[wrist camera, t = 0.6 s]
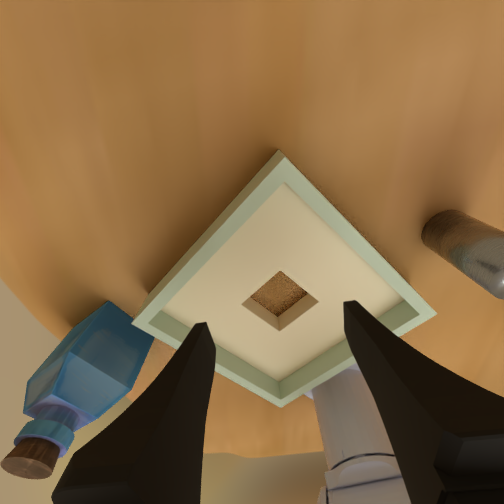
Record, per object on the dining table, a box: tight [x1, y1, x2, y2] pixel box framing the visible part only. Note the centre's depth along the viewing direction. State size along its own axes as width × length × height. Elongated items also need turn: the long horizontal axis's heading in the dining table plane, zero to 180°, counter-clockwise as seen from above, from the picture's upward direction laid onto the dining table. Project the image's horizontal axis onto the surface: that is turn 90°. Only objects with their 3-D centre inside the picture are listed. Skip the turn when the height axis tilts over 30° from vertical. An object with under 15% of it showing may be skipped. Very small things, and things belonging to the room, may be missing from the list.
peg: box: [422, 210, 504, 299], centre depth 18 cm, size 4×4×7 cm
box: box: [131, 149, 437, 408], centre depth 22 cm, size 18×18×4 cm
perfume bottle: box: [1, 301, 155, 479], centre depth 22 cm, size 6×6×12 cm
